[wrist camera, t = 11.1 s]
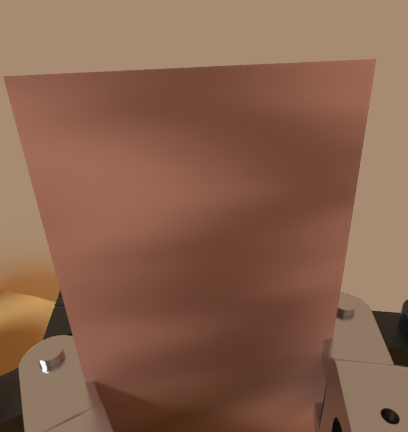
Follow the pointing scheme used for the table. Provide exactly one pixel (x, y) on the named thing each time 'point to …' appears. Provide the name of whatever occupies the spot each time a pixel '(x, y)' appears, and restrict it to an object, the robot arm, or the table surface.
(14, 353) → the table surface
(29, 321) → the table surface
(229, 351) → the tall block
